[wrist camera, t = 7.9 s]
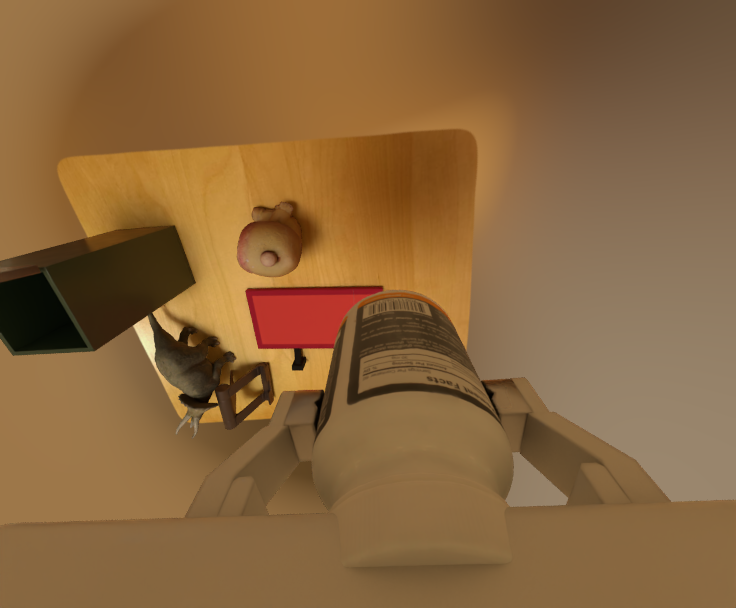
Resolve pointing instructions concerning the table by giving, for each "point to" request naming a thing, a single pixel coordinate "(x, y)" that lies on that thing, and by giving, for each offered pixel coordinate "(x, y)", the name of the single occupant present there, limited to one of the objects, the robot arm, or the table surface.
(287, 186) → the table surface
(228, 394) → the tablet stand
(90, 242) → the trash can
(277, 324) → the red board with handle
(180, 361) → the toy dinosaur
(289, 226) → the figurine
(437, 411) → the pill bottle
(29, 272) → the trash can lid
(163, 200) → the table surface
